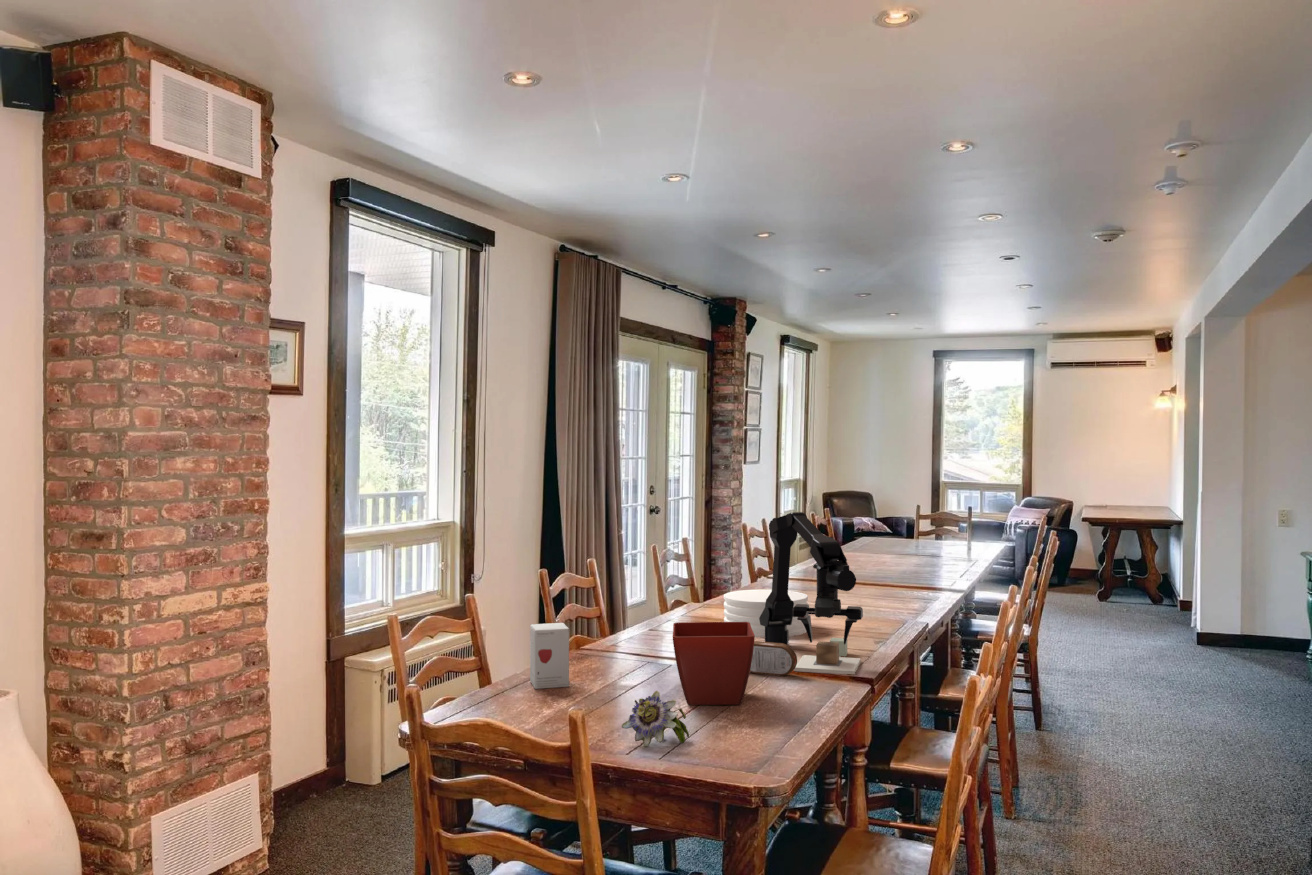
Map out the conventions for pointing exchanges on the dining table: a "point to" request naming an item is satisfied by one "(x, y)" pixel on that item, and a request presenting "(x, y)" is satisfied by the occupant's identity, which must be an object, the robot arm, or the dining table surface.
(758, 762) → the dining table surface
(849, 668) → the off-white flat square slab
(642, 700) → the passion flower
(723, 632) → the plant pot
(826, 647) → the walnut block
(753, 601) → the plate stack
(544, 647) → the supplement box
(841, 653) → the sage block
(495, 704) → the dining table surface
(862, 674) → the dining table surface
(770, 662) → the tin
